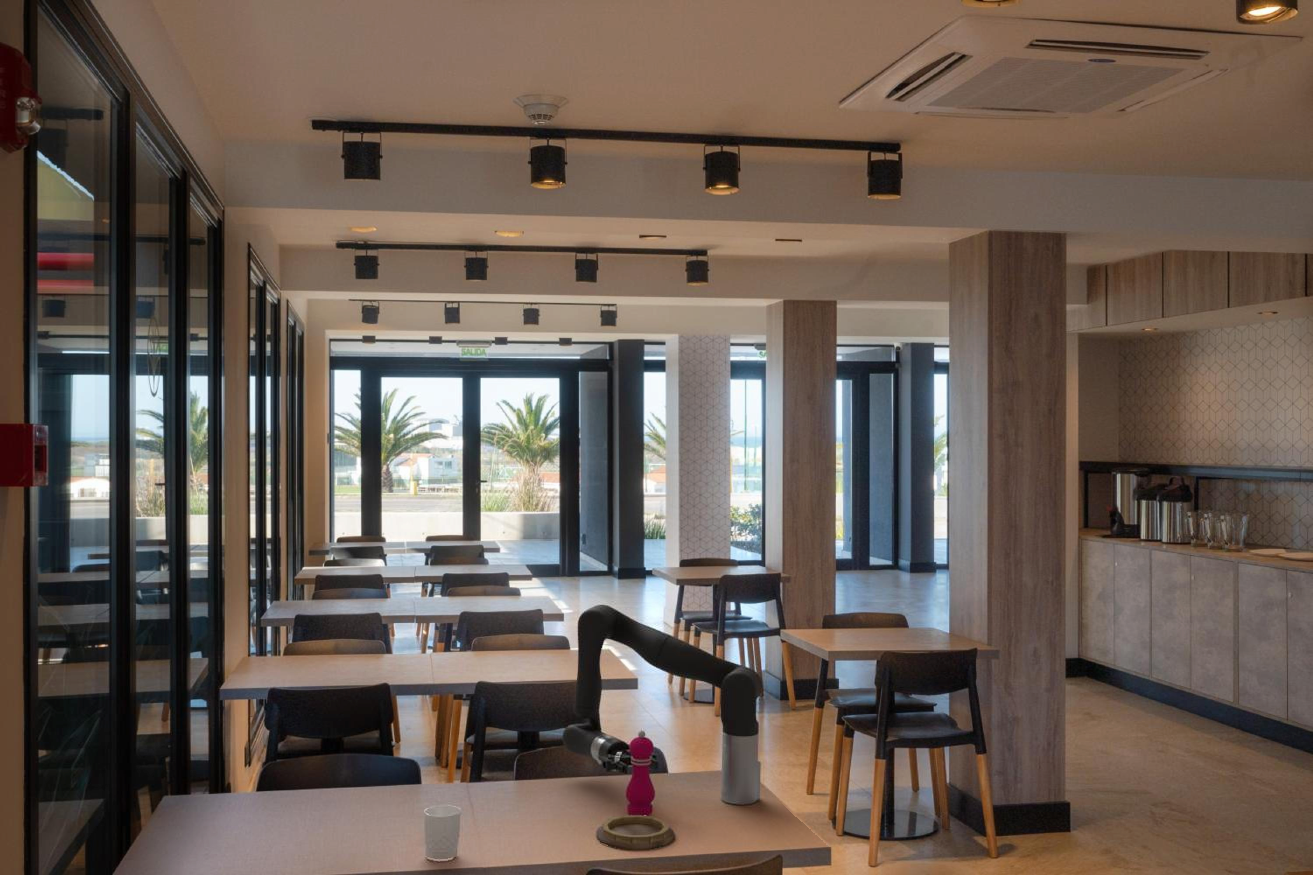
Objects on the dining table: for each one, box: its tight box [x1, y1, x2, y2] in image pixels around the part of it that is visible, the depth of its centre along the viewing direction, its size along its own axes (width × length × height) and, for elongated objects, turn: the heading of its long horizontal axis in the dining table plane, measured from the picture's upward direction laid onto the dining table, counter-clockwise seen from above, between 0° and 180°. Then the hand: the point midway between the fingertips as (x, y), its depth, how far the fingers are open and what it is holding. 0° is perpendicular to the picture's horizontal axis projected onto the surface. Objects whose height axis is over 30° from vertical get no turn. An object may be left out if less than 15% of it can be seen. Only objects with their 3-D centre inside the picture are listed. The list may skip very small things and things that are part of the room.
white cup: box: [423, 804, 462, 859], centre depth 255 cm, size 8×8×10 cm
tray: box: [595, 814, 675, 851], centre depth 270 cm, size 18×18×2 cm
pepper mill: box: [625, 730, 656, 816], centre depth 288 cm, size 7×7×20 cm
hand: (641, 767), depth 288 cm, fingers open, 8 cm apart
